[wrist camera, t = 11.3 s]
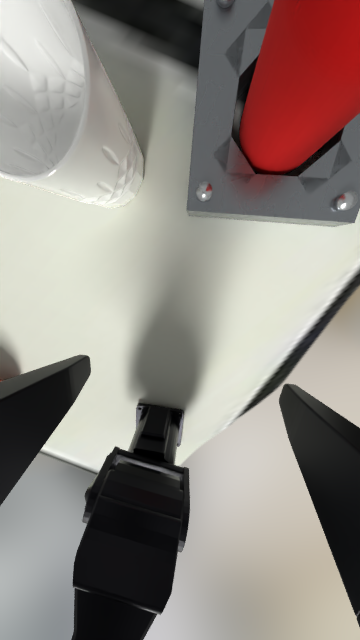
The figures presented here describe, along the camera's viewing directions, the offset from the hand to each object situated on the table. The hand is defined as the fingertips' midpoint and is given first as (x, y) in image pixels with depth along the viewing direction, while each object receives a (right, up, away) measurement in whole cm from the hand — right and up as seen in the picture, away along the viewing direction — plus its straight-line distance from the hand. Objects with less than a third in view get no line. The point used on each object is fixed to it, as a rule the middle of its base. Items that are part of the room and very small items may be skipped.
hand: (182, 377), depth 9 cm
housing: (+8, +18, +7) cm, 20 cm away
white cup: (-7, +17, +9) cm, 20 cm away
